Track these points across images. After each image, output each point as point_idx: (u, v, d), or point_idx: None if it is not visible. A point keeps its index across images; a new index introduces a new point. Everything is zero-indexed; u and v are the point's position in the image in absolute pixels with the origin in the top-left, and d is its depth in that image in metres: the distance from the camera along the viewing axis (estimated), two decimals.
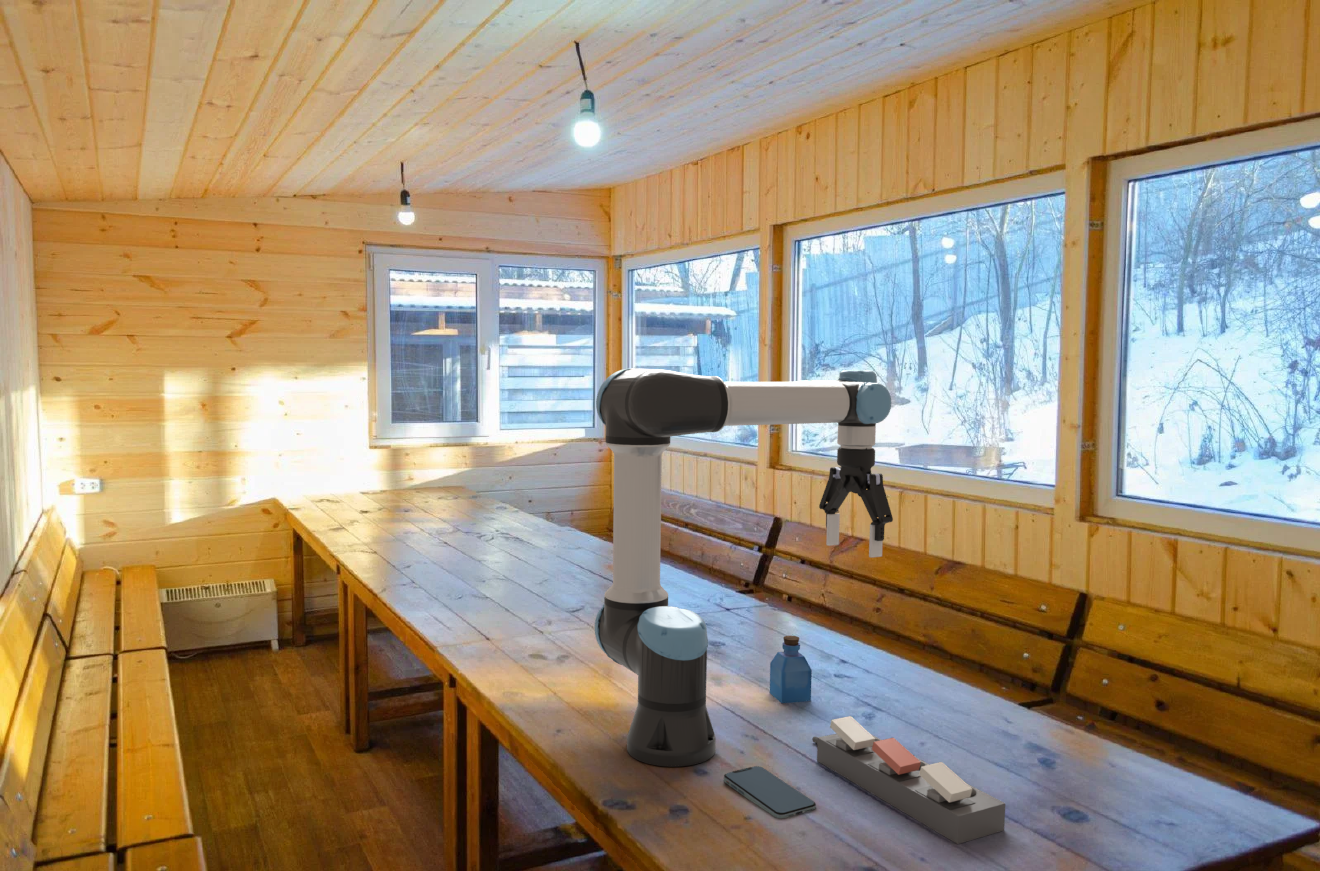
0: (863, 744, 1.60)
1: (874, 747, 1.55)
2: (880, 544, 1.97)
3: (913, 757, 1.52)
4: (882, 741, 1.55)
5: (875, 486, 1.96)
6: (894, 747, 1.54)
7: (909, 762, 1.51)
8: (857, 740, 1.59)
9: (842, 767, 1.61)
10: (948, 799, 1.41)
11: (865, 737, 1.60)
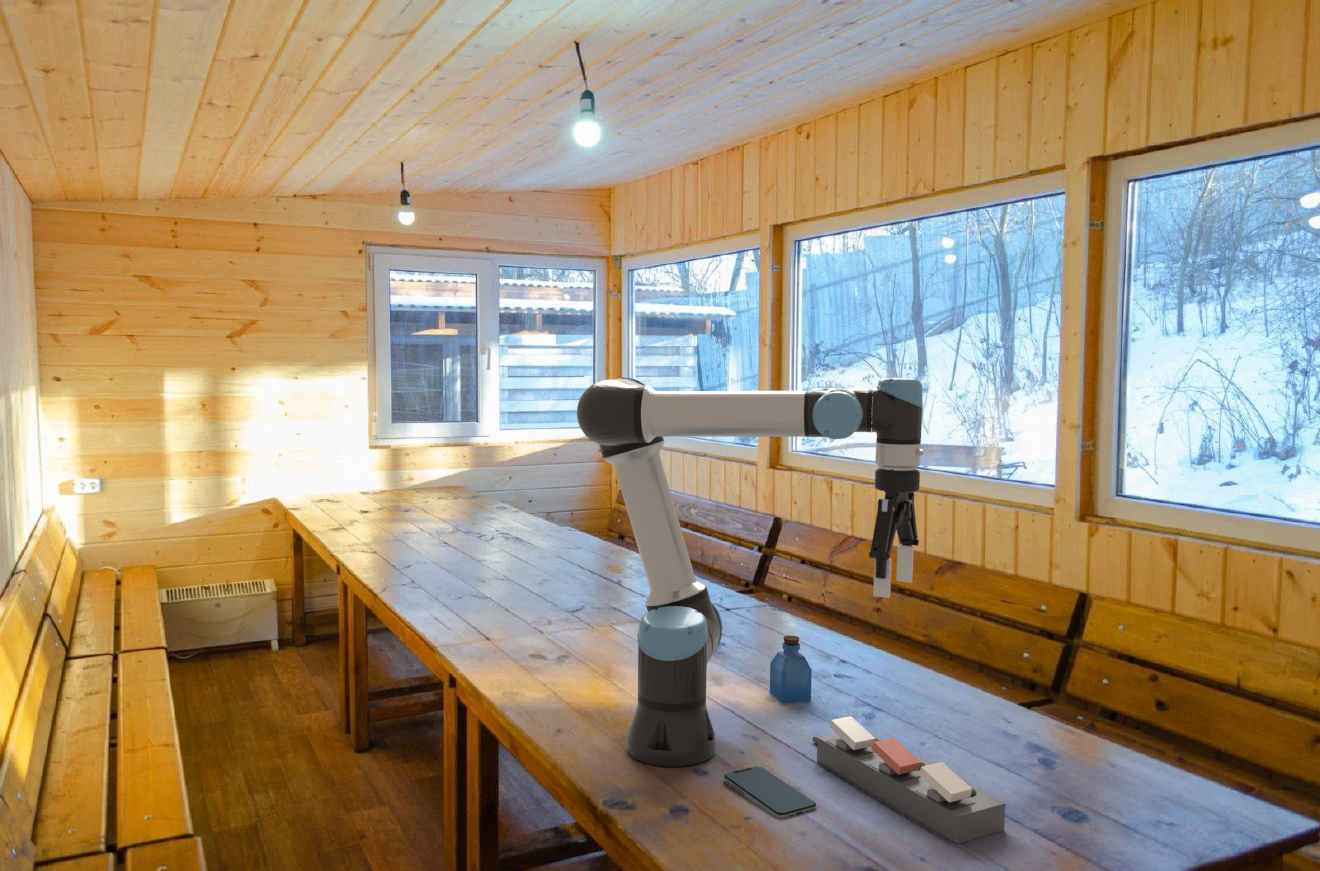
0: (863, 744, 1.60)
1: (874, 747, 1.55)
2: (886, 583, 1.67)
3: (913, 757, 1.52)
4: (882, 741, 1.55)
5: (879, 513, 1.67)
6: (894, 747, 1.54)
7: (909, 762, 1.51)
8: (857, 740, 1.59)
9: (842, 767, 1.61)
10: (948, 799, 1.41)
11: (865, 737, 1.60)
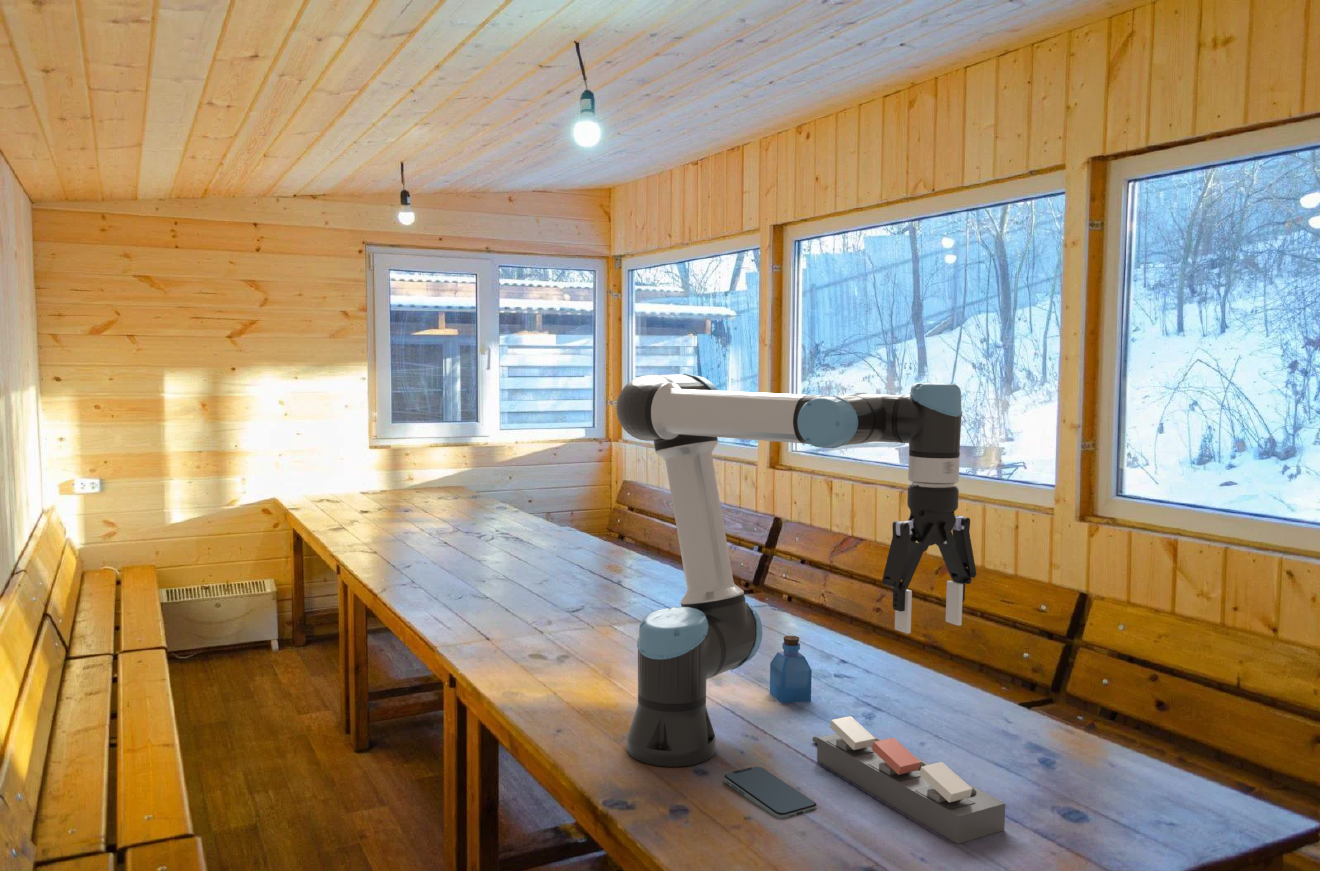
0: (863, 744, 1.60)
1: (874, 747, 1.55)
2: (905, 617, 1.51)
3: (913, 757, 1.52)
4: (882, 741, 1.55)
5: (894, 537, 1.51)
6: (894, 747, 1.54)
7: (909, 762, 1.51)
8: (857, 740, 1.59)
9: (842, 767, 1.61)
10: (948, 799, 1.41)
11: (865, 737, 1.60)
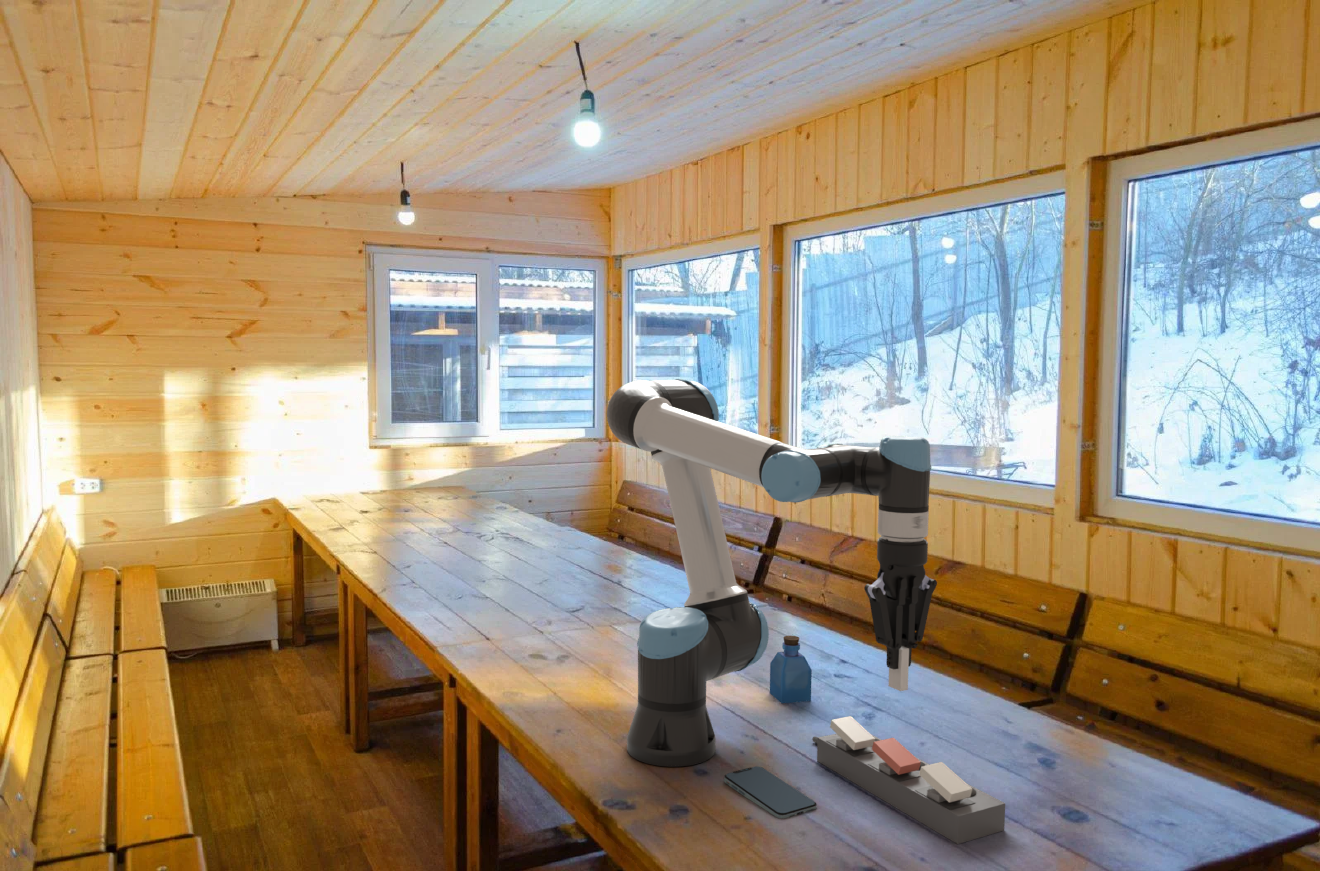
0: (863, 744, 1.60)
1: (874, 747, 1.55)
2: (898, 675, 1.54)
3: (913, 757, 1.52)
4: (882, 741, 1.55)
5: (871, 600, 1.52)
6: (894, 747, 1.54)
7: (909, 762, 1.51)
8: (857, 740, 1.59)
9: (842, 767, 1.61)
10: (948, 799, 1.41)
11: (865, 737, 1.60)
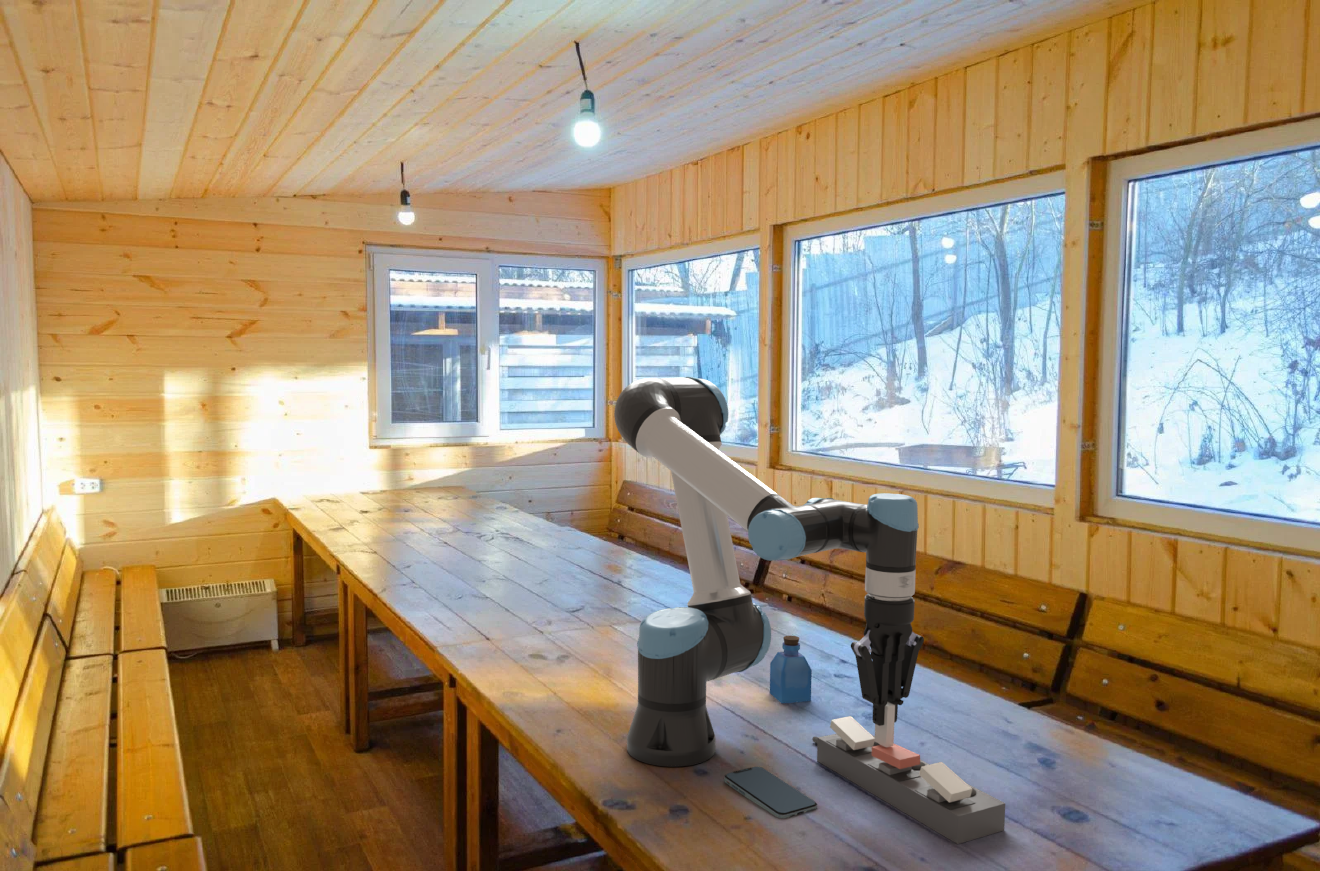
0: (863, 744, 1.60)
1: (873, 752, 1.55)
2: (884, 731, 1.54)
3: (912, 752, 1.53)
4: (880, 745, 1.56)
5: (857, 657, 1.53)
6: (892, 748, 1.54)
7: (909, 756, 1.51)
8: (857, 740, 1.59)
9: (842, 767, 1.61)
10: (948, 799, 1.41)
11: (865, 737, 1.60)
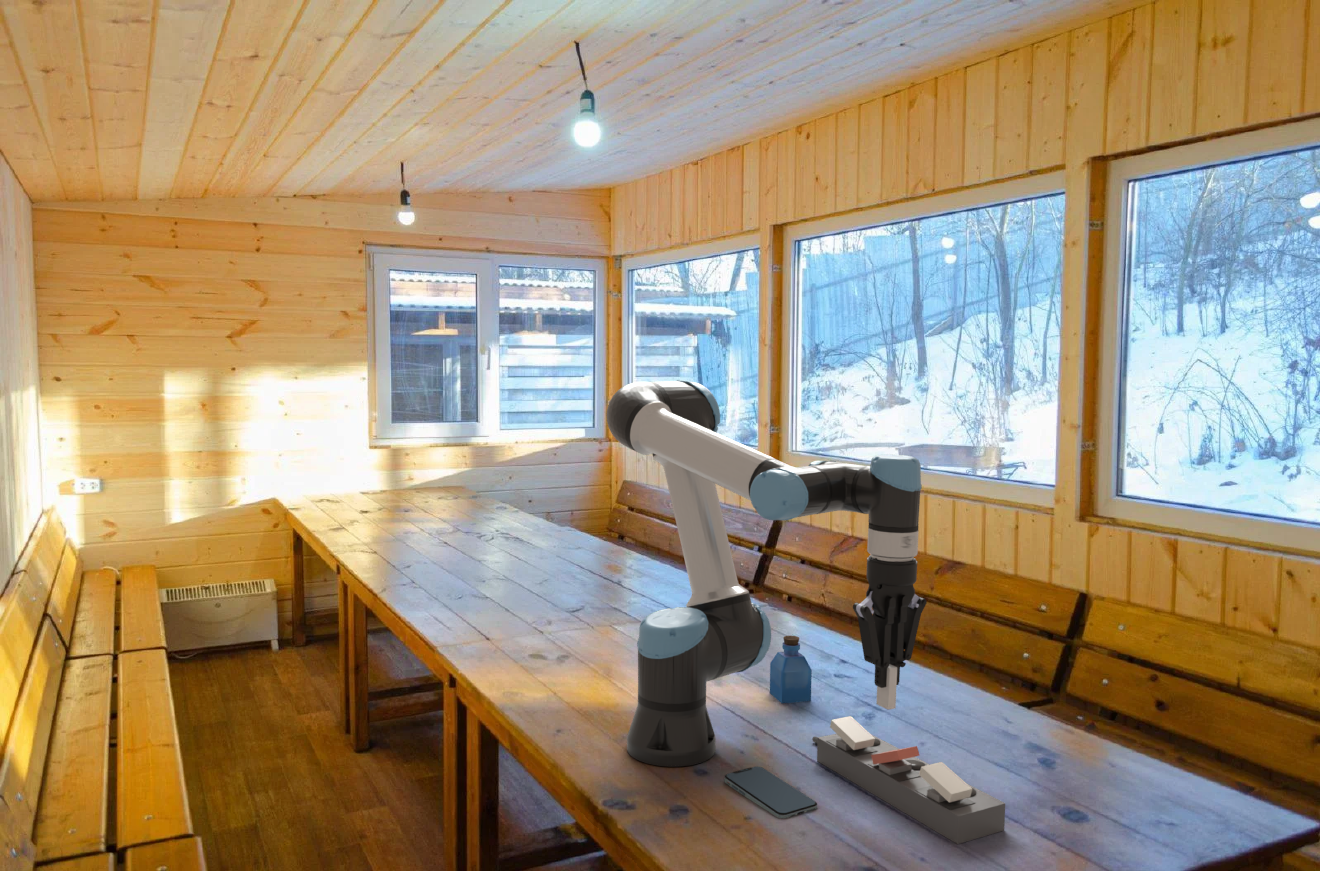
0: (863, 744, 1.60)
1: (874, 760, 1.55)
2: (886, 693, 1.54)
3: (909, 747, 1.53)
4: (879, 753, 1.56)
5: (859, 619, 1.52)
6: None
7: (906, 748, 1.52)
8: (857, 740, 1.59)
9: (842, 767, 1.61)
10: (948, 799, 1.41)
11: (865, 737, 1.60)
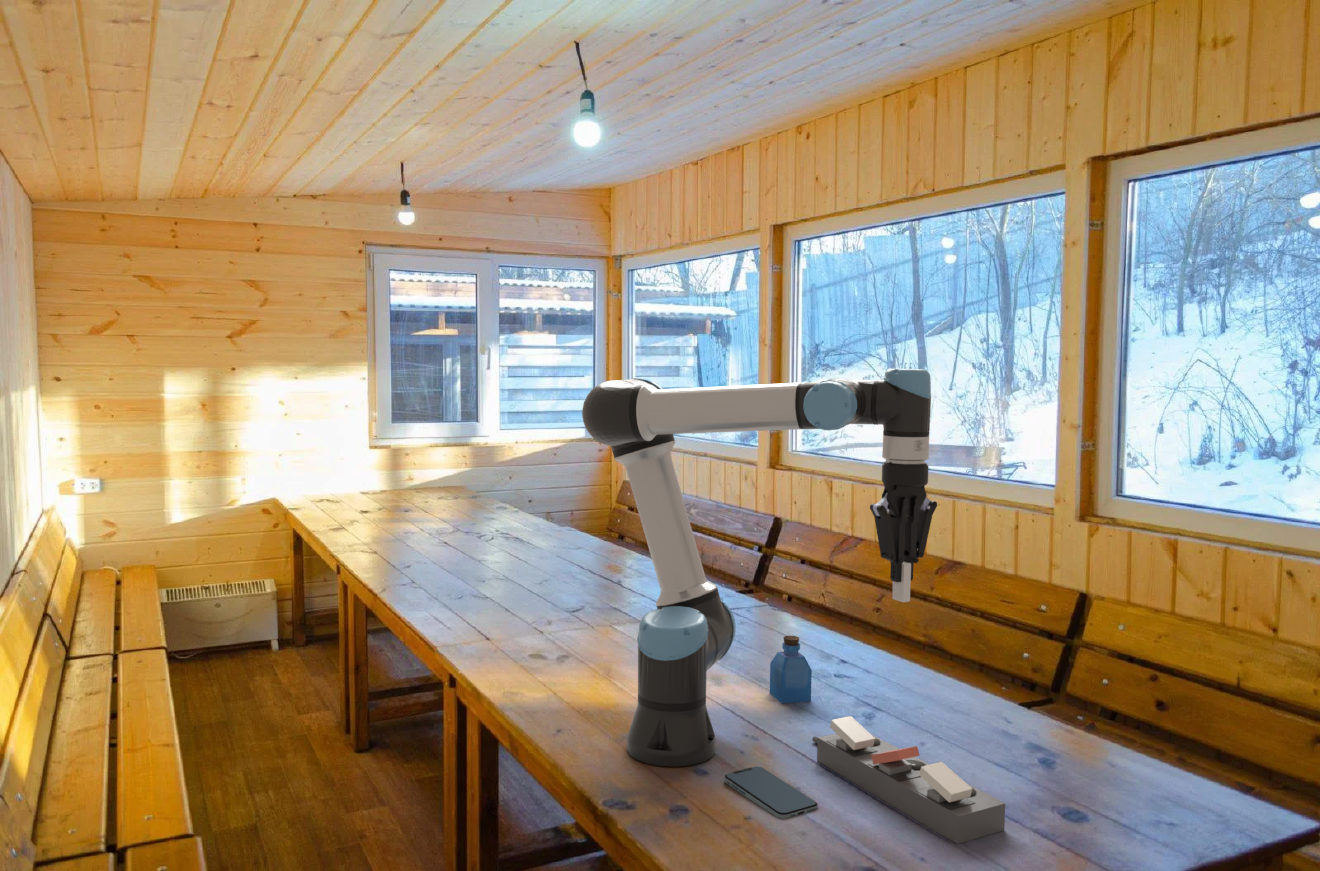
0: (863, 744, 1.60)
1: (874, 760, 1.55)
2: (901, 587, 1.67)
3: (909, 747, 1.53)
4: (879, 753, 1.56)
5: (876, 518, 1.66)
6: None
7: (906, 748, 1.52)
8: (857, 740, 1.59)
9: (842, 767, 1.61)
10: (948, 799, 1.41)
11: (865, 737, 1.60)
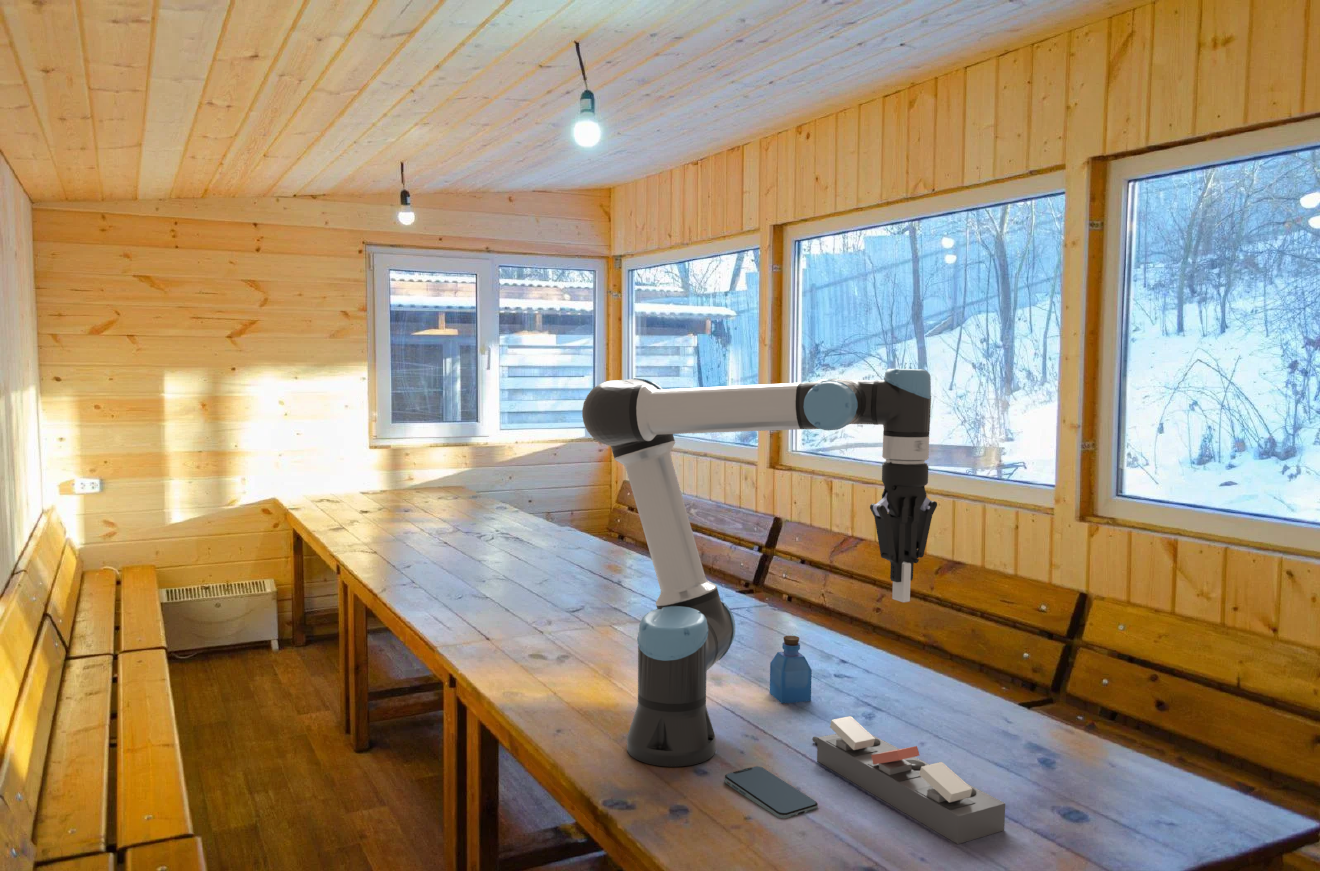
0: (863, 744, 1.60)
1: (874, 760, 1.55)
2: (901, 587, 1.68)
3: (909, 747, 1.53)
4: (879, 753, 1.56)
5: (876, 518, 1.66)
6: None
7: (906, 748, 1.52)
8: (857, 740, 1.59)
9: (842, 767, 1.61)
10: (948, 799, 1.41)
11: (865, 737, 1.60)
